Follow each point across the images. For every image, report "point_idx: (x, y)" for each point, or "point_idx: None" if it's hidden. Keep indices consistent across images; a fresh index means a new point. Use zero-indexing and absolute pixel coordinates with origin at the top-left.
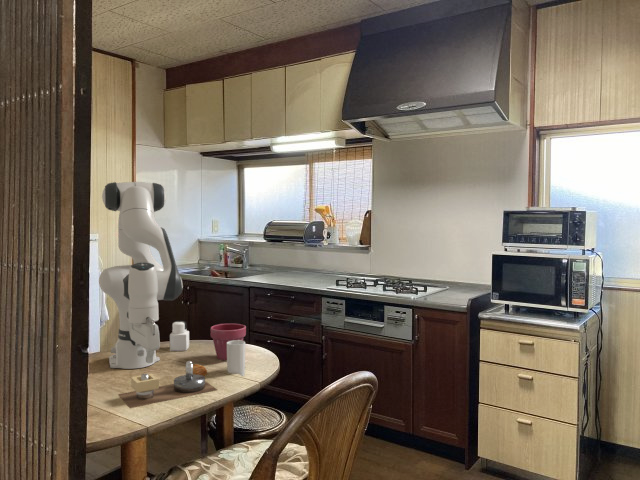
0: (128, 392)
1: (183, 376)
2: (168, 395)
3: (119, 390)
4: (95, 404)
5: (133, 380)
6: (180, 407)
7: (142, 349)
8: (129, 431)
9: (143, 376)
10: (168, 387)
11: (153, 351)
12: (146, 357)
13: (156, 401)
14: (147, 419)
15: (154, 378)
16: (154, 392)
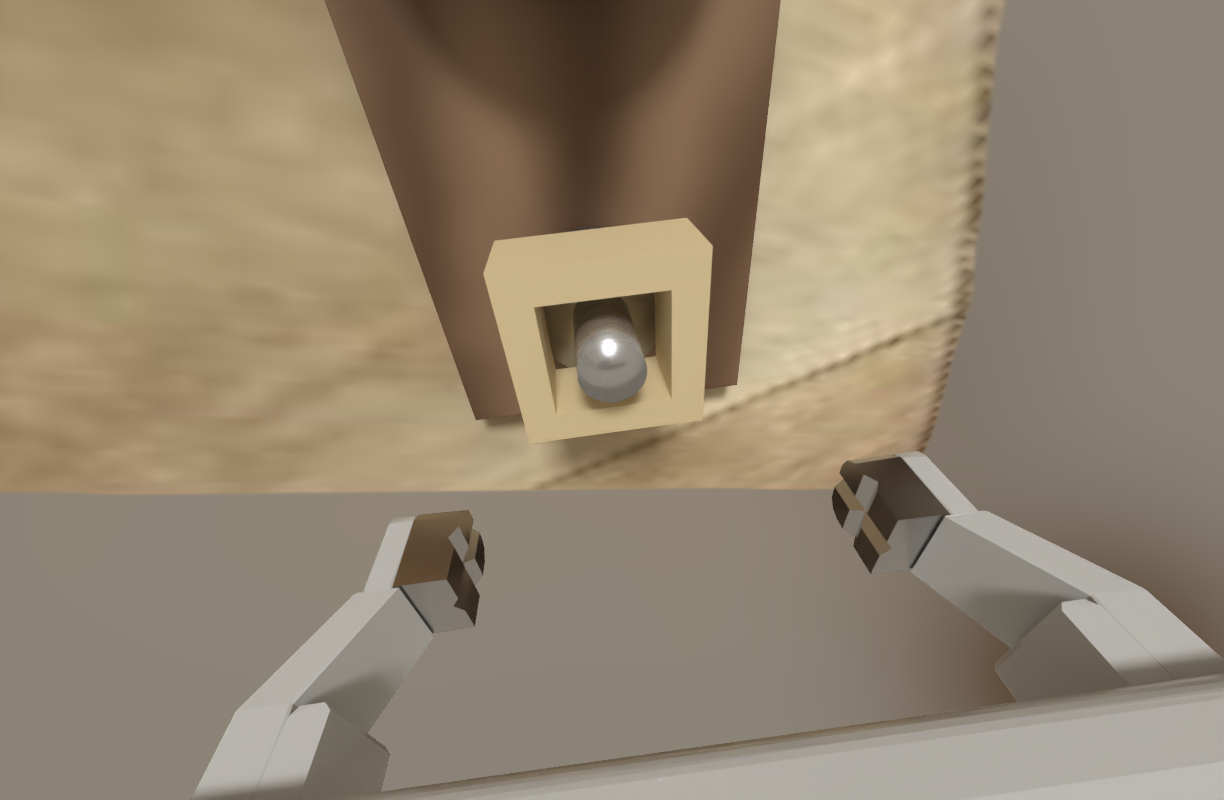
0: (460, 369)
1: None
2: (658, 101)
3: (311, 387)
4: (521, 483)
5: (598, 428)
6: (861, 42)
7: (398, 601)
8: (926, 388)
9: (639, 384)
10: (425, 32)
11: (1146, 609)
12: (912, 566)
13: (731, 229)
14: (870, 303)
15: (669, 280)
16: (528, 205)
